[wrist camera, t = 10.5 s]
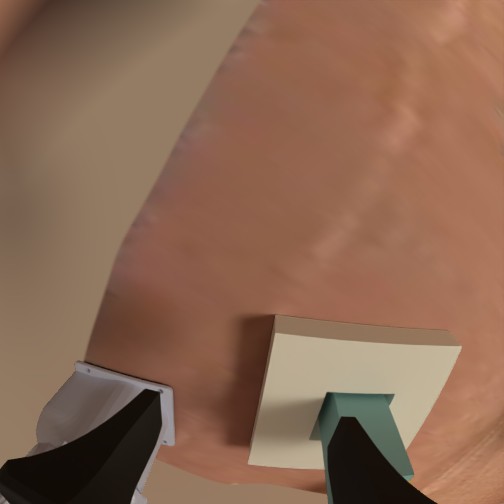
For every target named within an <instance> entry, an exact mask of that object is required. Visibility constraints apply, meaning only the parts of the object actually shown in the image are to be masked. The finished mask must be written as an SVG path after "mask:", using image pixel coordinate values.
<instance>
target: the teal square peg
mask: <svg viewBox="0 0 504 504" xmlns="http://www.w3.org/2000/svg"><path fill="white" fill-rule="evenodd" d="M341 416H346V417H356V418H357V420H358V421H359V423H360V424H361V425H362V427H363V428H364V430H365V431H366V433H367V434H368V435H369V437H370V438H371V440H372V441H373V442H374V444H375V445H376V446H377V448H378V449H379V450H380V452H381V453H382V454H383V455H384V457H385V458H386V459H387V460H388V462H389V463H390V464H391V465H392V466H393V467H394V468H395V469H396V471H397V472H398V473H399V474H400V475H401V476H402V477H404V478H405V479H406V480H407V481H408V482H409V481H410V479H411V478H412V477H413V476H414V472H413V469H412V466H411V463H410V460H409V458H408V455H407V452H406V450H405V447H404V444H403V441H402V439H401V436H400V434H399V431H398V428H397V426H396V423H395V421H394V418H393V416H392V413H391V411H390V408H389V406H388V403H387V401H386V398H385V396H384V394H364V393H338V392H326V395H325V398H324V401H323V404H322V406H321V409H320V412H319V414H318V420H319V428H320V435H321V443H322V451H323V460H324V468H325V477H326V486H327V496H328V504H333V499H332V493H331V486H330V480H329V474H328V463H327V446H328V444H329V442H330V440H331V438H332V436H333V434H334V431H335V429H336V427H337V425H338V422H339V420H340V418H341Z"/></svg>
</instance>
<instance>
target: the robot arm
mask: <svg viewBox="0 0 504 504" xmlns="http://www.w3.org/2000/svg"><path fill="white" fill-rule="evenodd" d="M75 369H76V371H75V372H74V373H73V375H72V376H71V377H70V378H69V379H68V380H67V381H66V383H65V384H64V385H63V386H62V387H61V388H60V389H59V391H58V392H57V393H56V394H55V395H54V396H53V398H52V399H51V400H50V401H49V402H48V403H47V405H46V406H45V407H44V409H43V411H42V412H41V415H40V417H39V420H38V424H37V429H36V435H37V442H38V444H36V445H35V446H34V447H33V448H32V450H31V451H30V452H29V453H28V454H27V455H26V456H25V457H23V458H17V459H11V460H8V461H7V462H6V463H5V464H4V465H3V466H2V467H1V469H0V504H147V502H148V499H146V498H145V497H143V496H142V495H141V493H142V491H143V488H144V485H145V483H146V480H147V478H148V475H149V473H150V470H151V468H152V465H153V463H154V460H155V457H156V455H157V452H158V450H159V447H160V445H161V444H165V445H169V446H173V445H174V444H175V429H174V404H173V390H172V388H170V387H169V386H165V385H161V384H157V383H153V382H149V381H145V380H141V379H137V378H134V377H130V376H126V375H123V374H119V373H116V372H113V371H109V370H106V369H103V368H100V367H96V366H93V365H90V364H87V363H84V362H81V361H77V362H76V363H75ZM160 389H161V390H162V391H161V390H160ZM327 463H328V474H329V480H330V486H331V493H332V499H333V504H437V503H436V502H434V501H433V500H431V499H430V498H428V497H427V496H425V495H424V494H423V493H421V492H420V491H419V490H417V489H416V488H415V487H414V486H412V485H411V484H410V483H409V482H408V481H407V480H406V479H405V478H404V477H402V476H401V475H400V474H399V473H398V472H397V471H396V469H395V468H394V467H393V466H392V465H391V464H390V463H389V462H388V460H387V459H386V458H385V457H384V455H383V454H382V453H381V452H380V450H379V449H378V448H377V446H376V445H375V444H374V442H373V441H372V440H371V438H370V437H369V435H368V434H367V433H366V431H365V430H364V428H363V427H362V425H361V424H360V423H359V421H358V420H357V418H356V417H346V416H341V418H340V420H339V422H338V425H337V427H336V429H335V431H334V434H333V436H332V438H331V440H330V442H329V444H328V446H327Z"/></svg>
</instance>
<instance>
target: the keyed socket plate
mask: <svg viewBox="0 0 504 504" xmlns="http://www.w3.org/2000/svg"><path fill="white" fill-rule="evenodd" d="M461 348H462V345H461V344H460V343H459V342H458V341H457V340H456V338H455V337H454V336H453V335H452V334H451V333H450V332H449V331H448V330H430V329H414V328H400V327H387V326H375V325H364V324H353V323H343V322H334V321H325V320H316V319H307V318H299V317H291V316H283V315H276V314H275V319H274V325H273V330H272V336H271V341H270V347H269V352H268V357H267V363H266V368H265V373H264V378H263V383H262V388H261V393H260V398H259V403H258V408H257V413H256V418H255V423H254V427H253V432H252V437H251V442H250V448H249V457H248V464H250V465H259V466H269V467H282V468H298V469H325V468H324V460H323V451H322V443H321V435H320V428H319V420H317V417H318V414H319V412H320V409H321V406H322V404H323V401H324V398H325V395H326V392H338V393H364V394H384V396H385V398H386V401H387V403H388V406H389V408H390V411H391V413H392V416H393V418H394V421H395V423H396V426H397V428H398V431H399V434H400V436H401V439H402V441H403V444H404V447H405V450H406V449H407V448H408V446H409V445H410V443H411V442H412V440H413V438H414V437H415V435H416V434H417V432H418V431H419V429H420V427H421V426H422V424H423V422H424V421H425V419H426V417H427V416H428V414H429V412H430V410H431V409H432V407H433V405H434V403H435V401H436V400H437V398H438V396H439V394H440V392H441V390H442V388H443V386H444V384H445V383H446V381H447V379H448V376H449V374H450V372H451V370H452V368H453V366H454V364H455V362H456V360H457V357H458V355H459V353H460V351H461Z"/></svg>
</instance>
